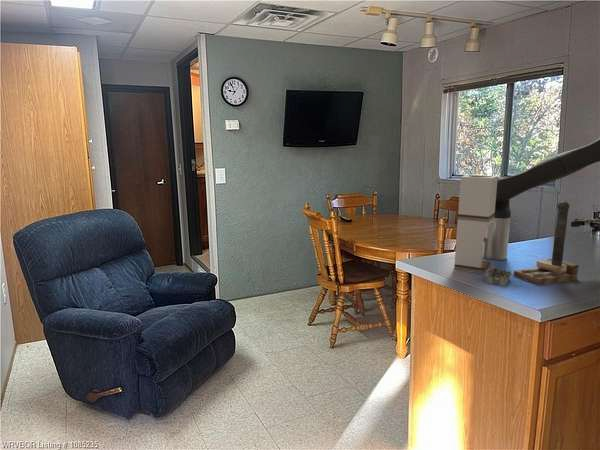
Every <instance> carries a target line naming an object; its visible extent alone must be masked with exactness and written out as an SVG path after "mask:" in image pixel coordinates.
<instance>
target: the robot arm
mask: <svg viewBox="0 0 600 450" xmlns="http://www.w3.org/2000/svg"><path fill="white" fill-rule="evenodd" d="M598 162H600V137H598V138H597V139H596V140H595V141H592V143H590V144H587V145H585V146H581V147H578V148H575V149H571V150H566V151H564V152H561V153H559V154H558V153H557V154H556V155H553V156H551V157H547V158H545V159H542V160H541V161H539V162H537V163H536V164H534V165H532V166H531V167H530V168H528V169H527V170H525V171H523V172H520V173H517V174H514V175H512V176H508V177H502V176H498V180H497V191H496V203H495V214H494V222H493V223H491V224H490V225H489V226H488V234H487V241H486V242H484V243H483V255H482V259H488V260H494V261H495V260H498V261H501V260H502V261H503V260H507V258H508V248H509V239H510V238H509V237H510V226H511V216H512V212H511V211H512V210H511V208H510V200H511V199H513V198H515V197H517V196H519V195H520V194H523V193H525V192H527V191H529V190H532V189H535V188H537V187H541V186H544V185H546V184H549V183H552V182H555V181H557V180H560V179H563V178H565V177H567V176H570V175H573V174H574V173H577V172H579V171H580V170H582V169H585V168H586V167H588V166H591V165H593V164H595V163H598ZM588 225H589V226H588ZM570 227H571V228H584V229H589V230H592V231H593V232H599V233H600V216H599V217H598V218H593V219H592V218H587V217H586V218H584V217H583V218H574V220H572V221H571V222H570Z"/></svg>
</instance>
